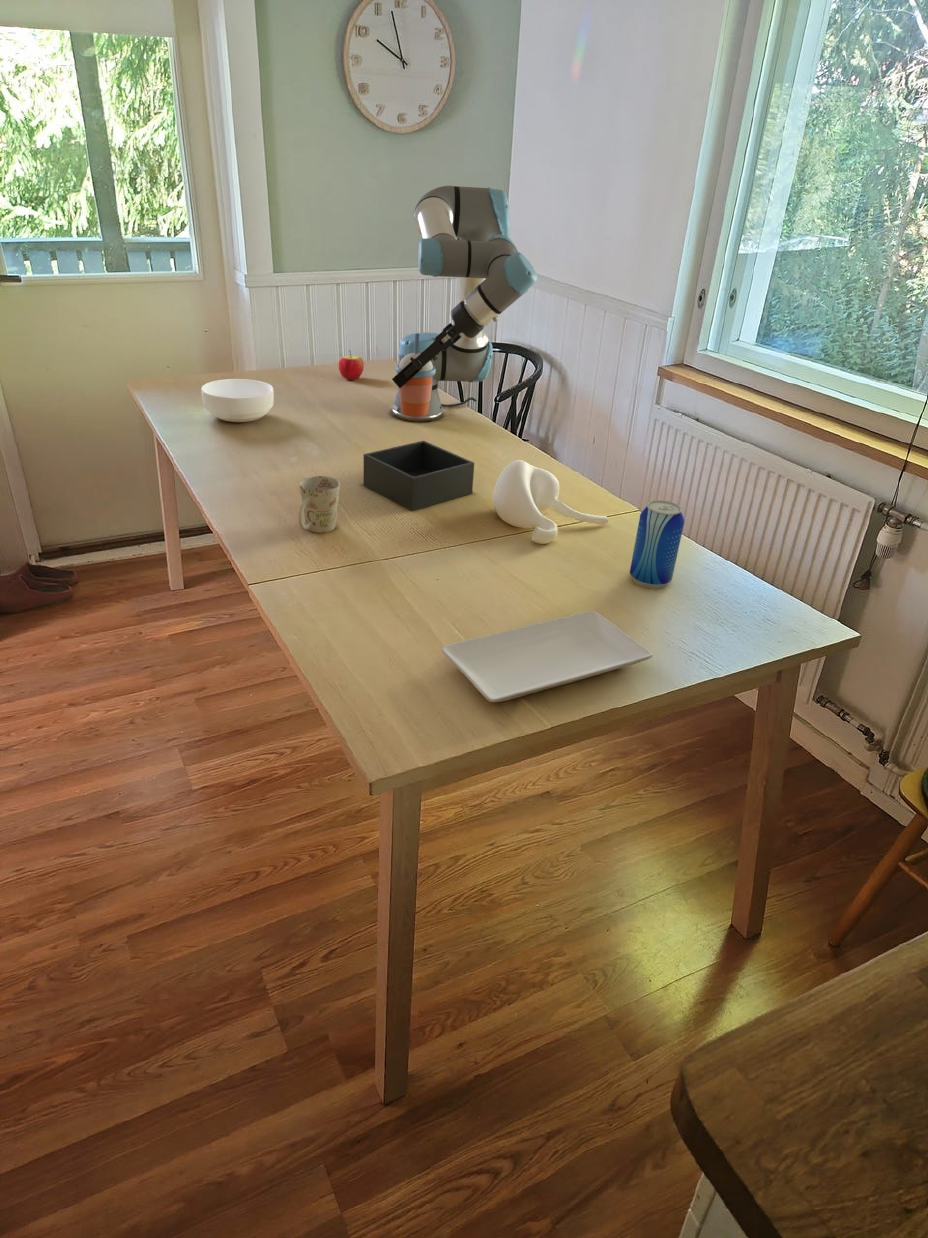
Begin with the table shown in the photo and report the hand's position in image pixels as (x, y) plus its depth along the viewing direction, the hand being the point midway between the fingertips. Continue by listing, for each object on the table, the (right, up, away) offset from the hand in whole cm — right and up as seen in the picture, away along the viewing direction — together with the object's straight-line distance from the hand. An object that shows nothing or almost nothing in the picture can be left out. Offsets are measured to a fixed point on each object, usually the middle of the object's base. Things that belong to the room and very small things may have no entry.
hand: (402, 378), depth 193 cm
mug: (-17, -37, -15) cm, 44 cm away
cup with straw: (+3, -7, +4) cm, 9 cm away
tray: (+28, -64, -55) cm, 89 cm away
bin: (+3, -24, +8) cm, 26 cm away
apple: (-24, +25, +89) cm, 95 cm away
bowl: (-50, +2, +46) cm, 68 cm away
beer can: (+51, -48, -26) cm, 75 cm away
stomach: (+31, -34, -3) cm, 46 cm away
